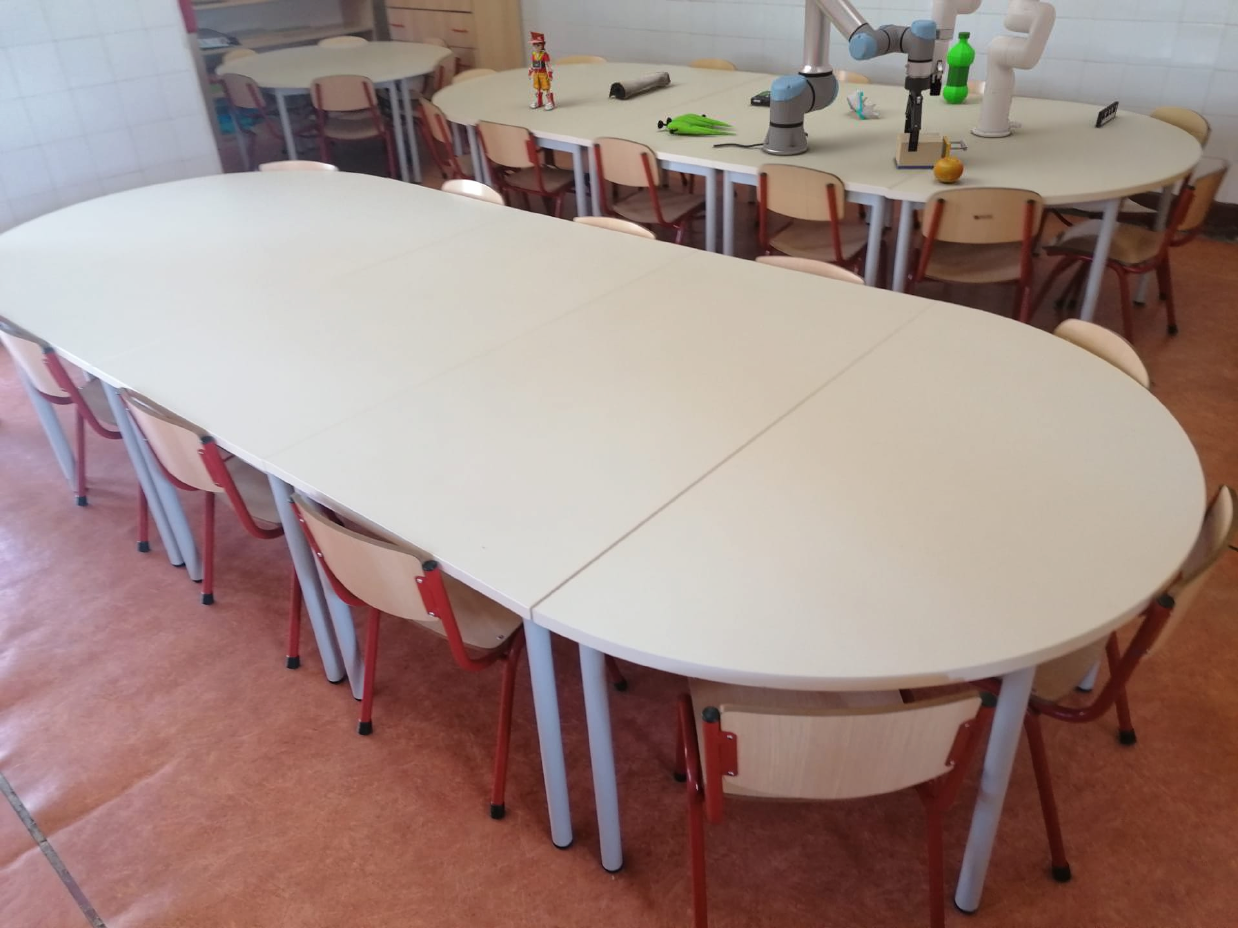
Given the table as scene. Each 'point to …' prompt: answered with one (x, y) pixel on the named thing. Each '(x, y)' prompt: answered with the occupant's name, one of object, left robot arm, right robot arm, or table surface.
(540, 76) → the toy
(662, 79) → the rolled mat
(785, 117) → the left robot arm
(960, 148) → the drawer
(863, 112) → the anatomical model
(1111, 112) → the midi keyboard
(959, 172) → the fruit
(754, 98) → the disk drive
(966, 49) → the plastic bottle
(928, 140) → the cabinet
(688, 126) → the toy
